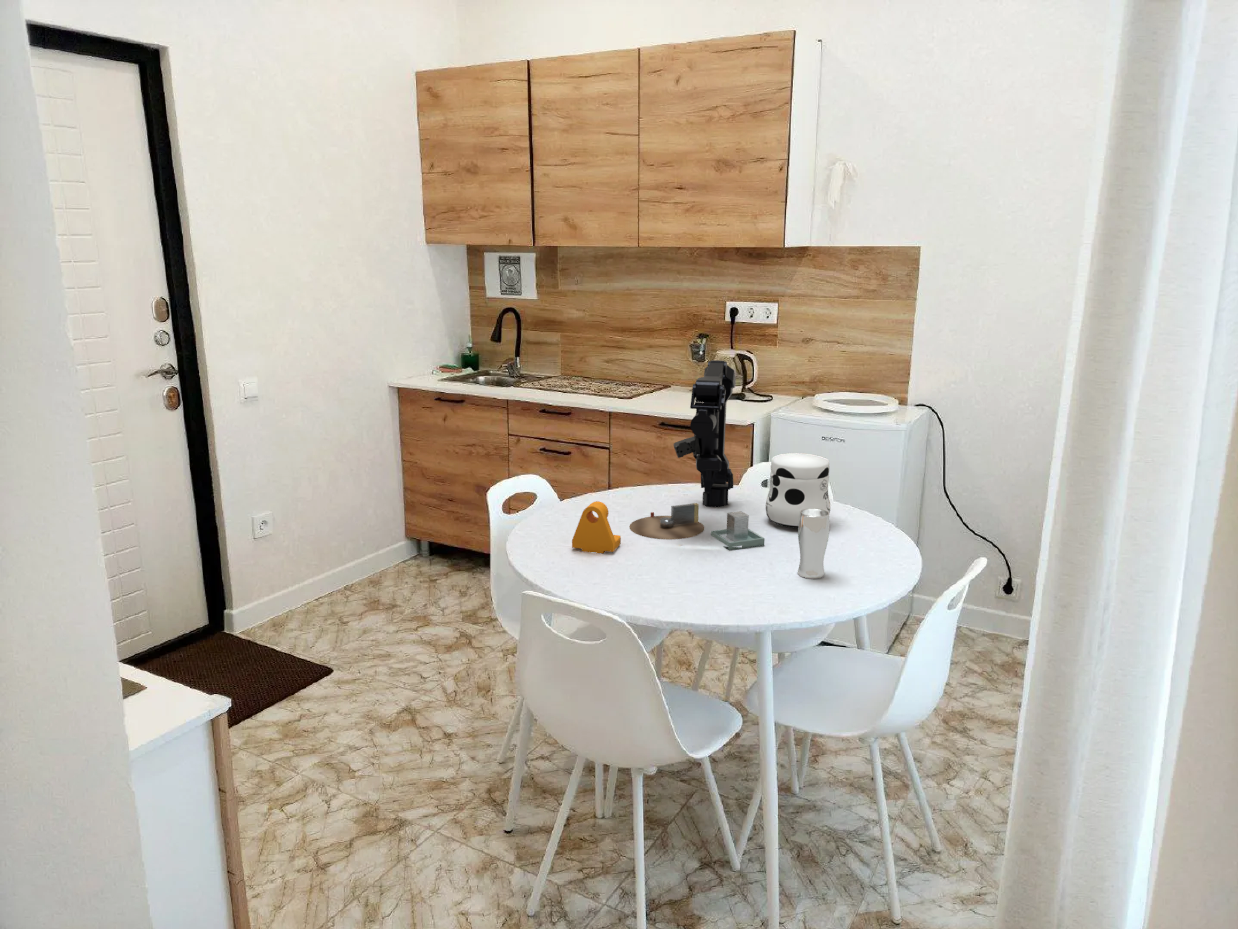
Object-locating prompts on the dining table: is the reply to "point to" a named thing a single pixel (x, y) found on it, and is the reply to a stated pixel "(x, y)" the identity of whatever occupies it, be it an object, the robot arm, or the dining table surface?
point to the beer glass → (812, 542)
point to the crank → (681, 515)
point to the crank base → (664, 528)
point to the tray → (752, 541)
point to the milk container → (797, 487)
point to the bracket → (595, 531)
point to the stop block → (737, 526)
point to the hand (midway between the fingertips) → (705, 487)
